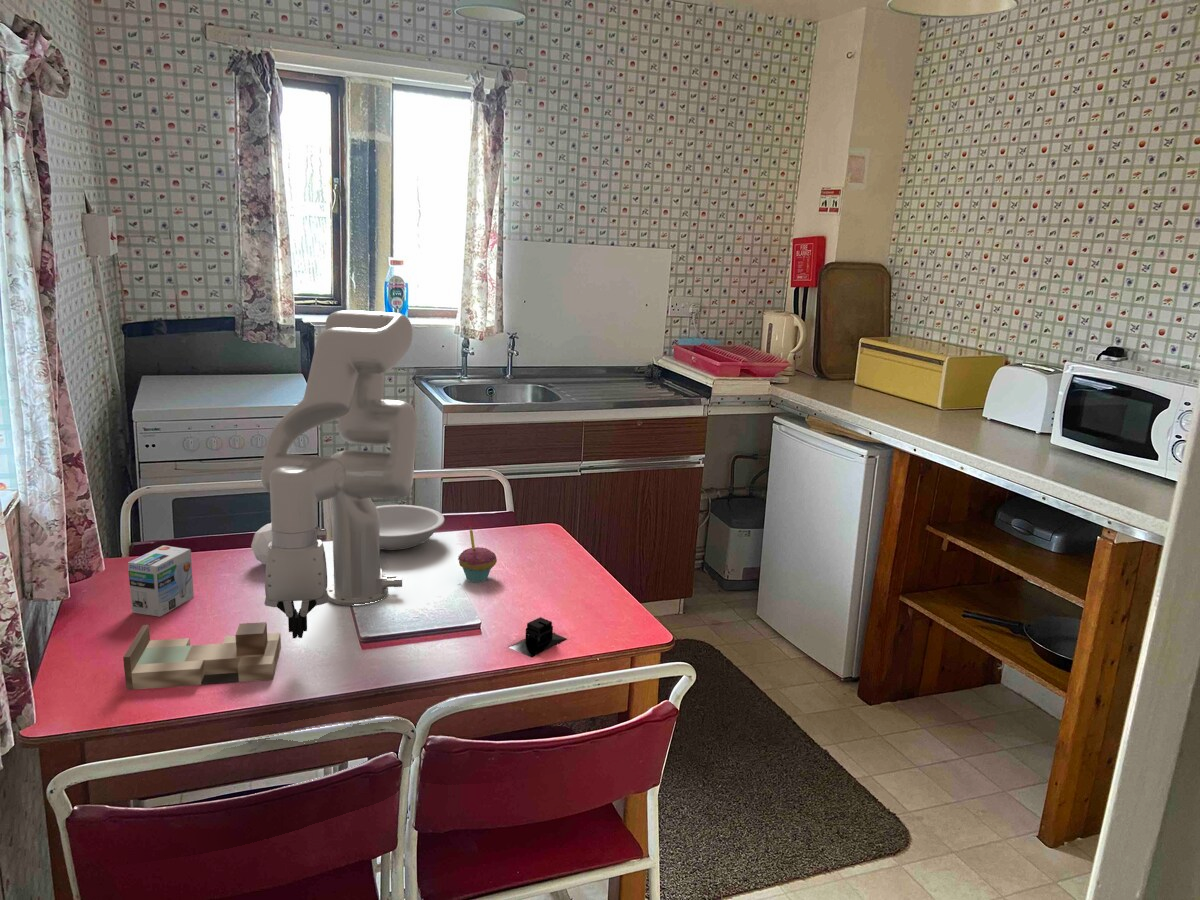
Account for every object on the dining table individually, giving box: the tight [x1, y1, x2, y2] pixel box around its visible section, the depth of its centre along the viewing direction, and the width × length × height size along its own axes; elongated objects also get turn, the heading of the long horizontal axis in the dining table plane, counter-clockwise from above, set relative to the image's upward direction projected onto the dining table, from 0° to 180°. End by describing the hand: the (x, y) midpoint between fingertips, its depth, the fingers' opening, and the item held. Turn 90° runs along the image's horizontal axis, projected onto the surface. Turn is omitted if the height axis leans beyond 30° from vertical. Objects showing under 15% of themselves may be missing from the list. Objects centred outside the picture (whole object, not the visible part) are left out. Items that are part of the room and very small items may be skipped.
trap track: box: [122, 624, 282, 691], centre depth 152 cm, size 23×12×6 cm, turn 103°
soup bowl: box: [375, 504, 445, 551], centre depth 215 cm, size 24×24×7 cm
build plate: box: [508, 616, 568, 658], centre depth 167 cm, size 13×8×5 cm, turn 141°
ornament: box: [250, 522, 272, 566], centre depth 200 cm, size 10×10×15 cm
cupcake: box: [457, 526, 498, 583], centre depth 196 cm, size 9×8×12 cm
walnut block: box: [235, 621, 268, 656], centre depth 153 cm, size 4×4×4 cm
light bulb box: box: [127, 545, 195, 617], centre depth 175 cm, size 11×7×11 cm, turn 168°
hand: (298, 634), depth 154 cm, fingers closed
